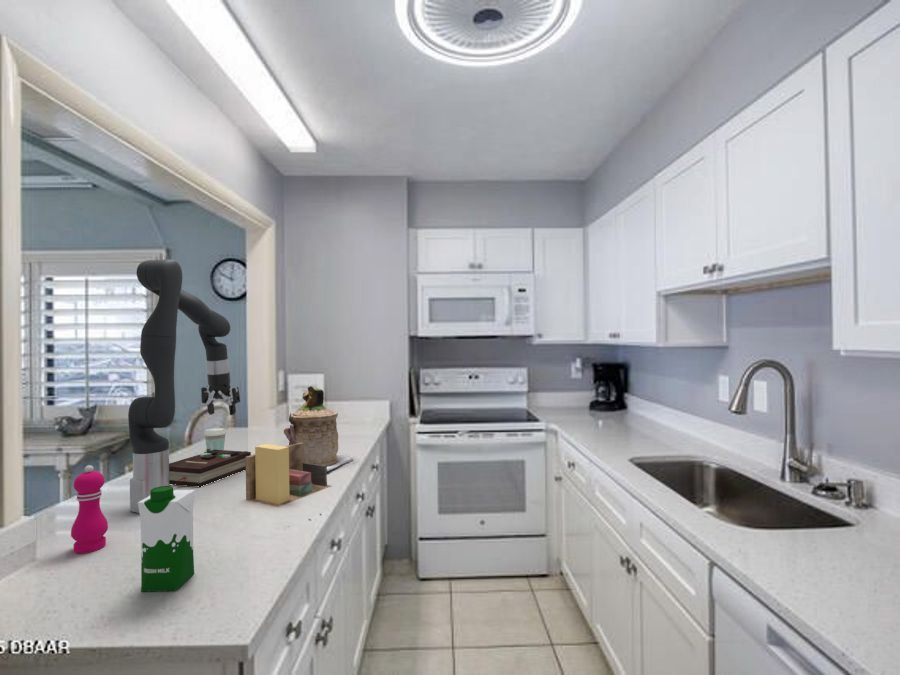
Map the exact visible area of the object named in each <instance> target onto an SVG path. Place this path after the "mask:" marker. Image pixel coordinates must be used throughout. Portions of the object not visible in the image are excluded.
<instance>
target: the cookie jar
mask: <svg viewBox="0 0 900 675" xmlns="http://www.w3.org/2000/svg"><path fill="white" fill-rule="evenodd" d="M324 395H325V394H324V390H323V389H321V388H317V387H314V386H312V385H310V386H308V387H307V391H304V392H303V393H302V400H304V402H305V403H303V405H302V406H300V407H298V408H297V409H296V411H295V412H293V411H291V412H289V413H290V414H289V415H288V417H289V418H288V422H289V423H290V425H289V427H285V428H284V429H283V434H284V435H285V437H286V439H287V440H288V446H289V445H293V444H297V443H304V463H310V464H317V465H323V466H327V472H331V471H332V470H334V469H337V467H340V466H342V465H344V464H346V463H349V462H351V461H353V460H354V455H349V454H347V455H346V454H345V455H344V454H343V455H341V454H339V455H338V452H339V432H338V428H337V425H338V424H337V418H338V414H339V413H338V411H334V410H330V409H329V408H326V406H324V399H325V397H324Z"/></svg>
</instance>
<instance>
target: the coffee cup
mask: <svg viewBox="0 0 900 675" xmlns="http://www.w3.org/2000/svg"><path fill="white" fill-rule="evenodd" d="M226 434H227V431H226V428H224V427H214V428H208V429H205V431H204V434H203V435H204V438H205V446H206V449H211V450H225V442H226Z"/></svg>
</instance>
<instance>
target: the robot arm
mask: <svg viewBox="0 0 900 675" xmlns="http://www.w3.org/2000/svg"><path fill="white" fill-rule="evenodd" d="M136 278H137V280H138V282H139V283H140V285H141V286H142V287H144V288H145V289H146V290H148V291H150V292H151V293H153V294H154V295H156V296H158V300H157V304H156V306H155V308H154V309H153V311H152V313H151V314H150V316H149V317H148V318H147V320H146V322H145V323H144V325H143V327H142V329H141V333H140V346H139V347H140V349H139V351H140V353H139V354H140V356H141V359H142V360H143V363H144V364H145V366H146V367H147V369H148V371H149V373H150V374H151V376H152V379H153V384H154V396H140V397H139V396H138V397H136V398H135V399H134V400H132V402H131V403H130V405H129V408H128V416H127V417H128V418H127V419H128V431H129V432H128V433H129V442H130V446H131V447H132V477H131V478H130V479H129V511H130V512H133V513H137V514H139V515H140V513H139V508H138V502H140V501H141V500H143V499H145V498H147V497H148V496H150V491H151V489H153V488H156V487H161V486H170V485H169V463H170V442H169V441H170V440H168V438H166V437H164V436H162V435H159V434H158V433H157V432H156V431H155V429H163V428H168V427H169V426H170V425H171V424H172V423H173V421H174V419H175V418H174V417H175V414H176V394H175V393H176V392H175V359H176V349H177V325H178V324H177V322H178V313H179V312H178V311H180V312H181V313H182V314H184V316H186V317H188V319H190V320H191V322H193V323H194V324H195V325H197V326H198V327H197V329H198V333H199V337H200V339H201V341H202V344H203V347H204V349H205V356H206V375H207V385H205V386H203V387H201V388H200V391H201V393H200V394H201V403H202V404H206V405H207V408H206V409H207V412H208V414H209V415H213V414H215V404H214V402H215V400H223V401H225V402H227V404H228V410H229V412H228V413H229V416H234V415H235V414H236V413H237V410H236V404H239V403H240V402H241V396H240V390H239V387H238V386H234V387H231V385H230V384H231V373H230V362H229V357H228V348H227V345H226V344H225V343H223V342H220V341H217V339H216V338H223V337H227V336H228V335H229V334H230V332H231V324H230V322H229V321H228V319H227V318H226V317H225V316H223V315H222V314H220V313H218V312H217V311H214V310H212V309H211V308H210V307H209V306H208V305H206V303H205V302H204V301H203V300H201V299H200V298H199V297H197V296H196V295H194V294H192V293H190V292H188V291H185V290H183V289H182V287H183V286H182V284H183V270H182V267H181V264H180V263H179V262H178V261H177V260H176V259H172V258H171V259H169V258H168V259H167V258H165V259H151V260H150V259H149V260H144V261H142V262H139V264H138V266H137V268H136Z"/></svg>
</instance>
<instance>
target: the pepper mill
mask: <svg viewBox="0 0 900 675" xmlns="http://www.w3.org/2000/svg"><path fill="white" fill-rule="evenodd" d="M105 482H106V481H105V476H104V475H103V474H102V473H101V472H100V471H95V470H94V466H93V465H90V464H88V465H86V466H85V467H84V472H83V473H80V474H79V475H77V476H76V477H75V479H74V481H73V490H75V491H76V492H77V494H76V495H75V496H76V498H75V500H76V501H78V512H77V515H76V518H75V520H74V522H73V523H72V526H71V530H70V537H71V538H72V539H73V540H74V541H75V542H74V543H73V552H74V553H75V554H87V553H92V552H96V551H99V550H101V549H102V548H105V547H106V545H107V538H106V536H104V535H105V534H106V533H107V531H108V530H109V525H108V524H109V523H108V520H107V518H106V516H105V515H104V514H103V512H102V509H101V503H100V501H101V497H102V496H103V490H102V487H103V486H104V485H105Z"/></svg>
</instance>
